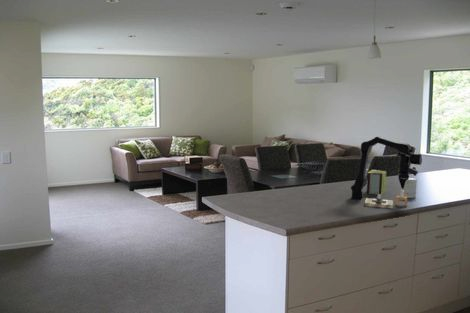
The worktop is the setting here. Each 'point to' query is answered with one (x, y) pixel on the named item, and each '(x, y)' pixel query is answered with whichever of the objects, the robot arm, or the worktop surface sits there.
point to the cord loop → (401, 198)
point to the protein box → (376, 182)
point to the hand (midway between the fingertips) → (402, 187)
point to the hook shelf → (384, 203)
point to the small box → (410, 188)
